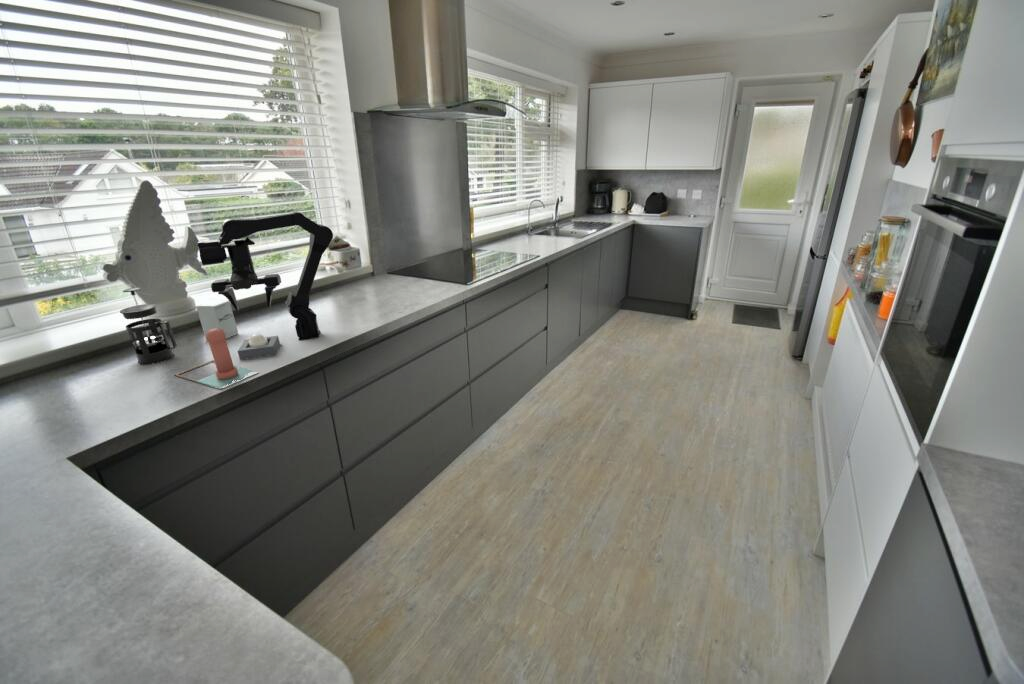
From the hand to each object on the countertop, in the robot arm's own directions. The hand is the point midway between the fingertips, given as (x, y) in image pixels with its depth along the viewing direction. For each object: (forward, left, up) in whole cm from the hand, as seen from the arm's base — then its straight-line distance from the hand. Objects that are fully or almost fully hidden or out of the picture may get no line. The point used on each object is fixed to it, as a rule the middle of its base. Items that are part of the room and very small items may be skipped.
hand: (253, 308), depth 147 cm
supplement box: (+16, -16, -13) cm, 26 cm away
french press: (+31, -2, -13) cm, 34 cm away
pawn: (+5, +23, -13) cm, 27 cm away
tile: (+5, +23, -13) cm, 27 cm away
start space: (+13, +15, -13) cm, 24 cm away
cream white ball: (0, +5, -12) cm, 13 cm away
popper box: (0, +5, -13) cm, 14 cm away
